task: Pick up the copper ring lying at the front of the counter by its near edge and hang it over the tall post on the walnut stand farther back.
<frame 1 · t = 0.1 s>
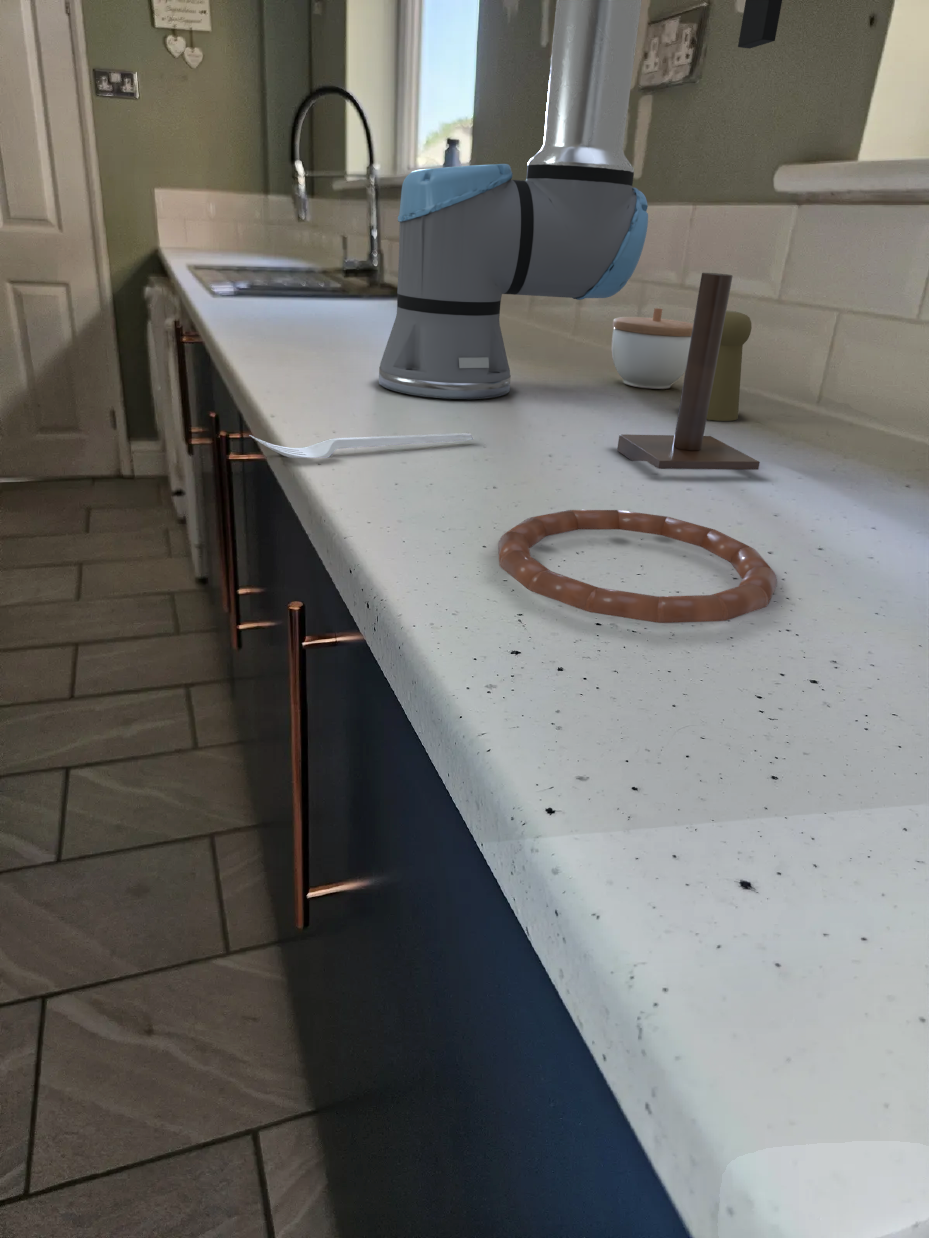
hand: (863, 58, 49), 28 cm above the counter, tool pointing down, fingers open, 13 cm apart
rail post: (683, 464, 76), on the counter
fork: (370, 454, 73), on the counter
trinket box: (646, 386, 113), on the counter
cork: (709, 416, 97), on the counter
ring: (633, 563, 50), point 1 cm above the counter
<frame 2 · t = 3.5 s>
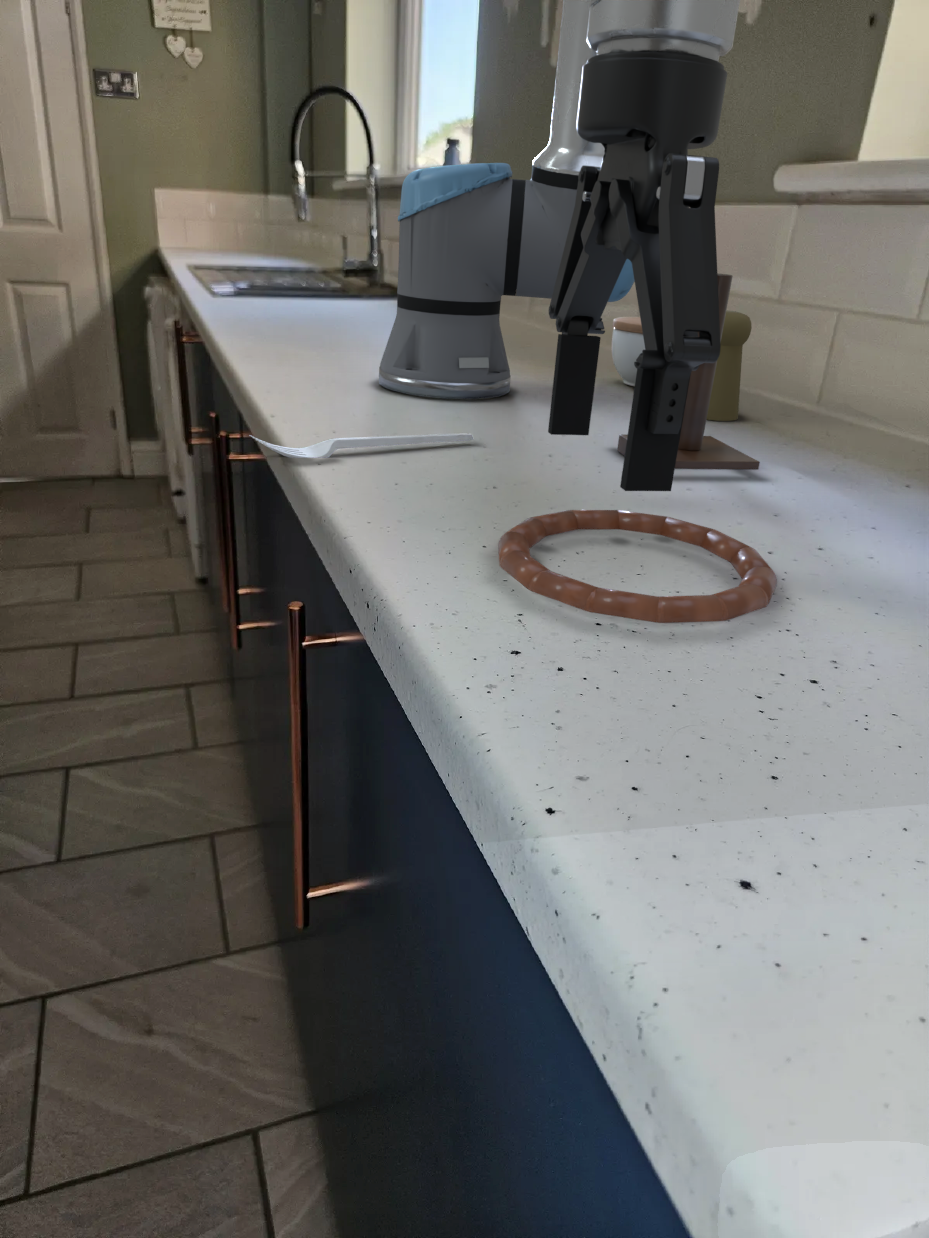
hand: (602, 459, 54), 5 cm above the counter, tool pointing down, fingers open, 13 cm apart
nothing on the counter moved.
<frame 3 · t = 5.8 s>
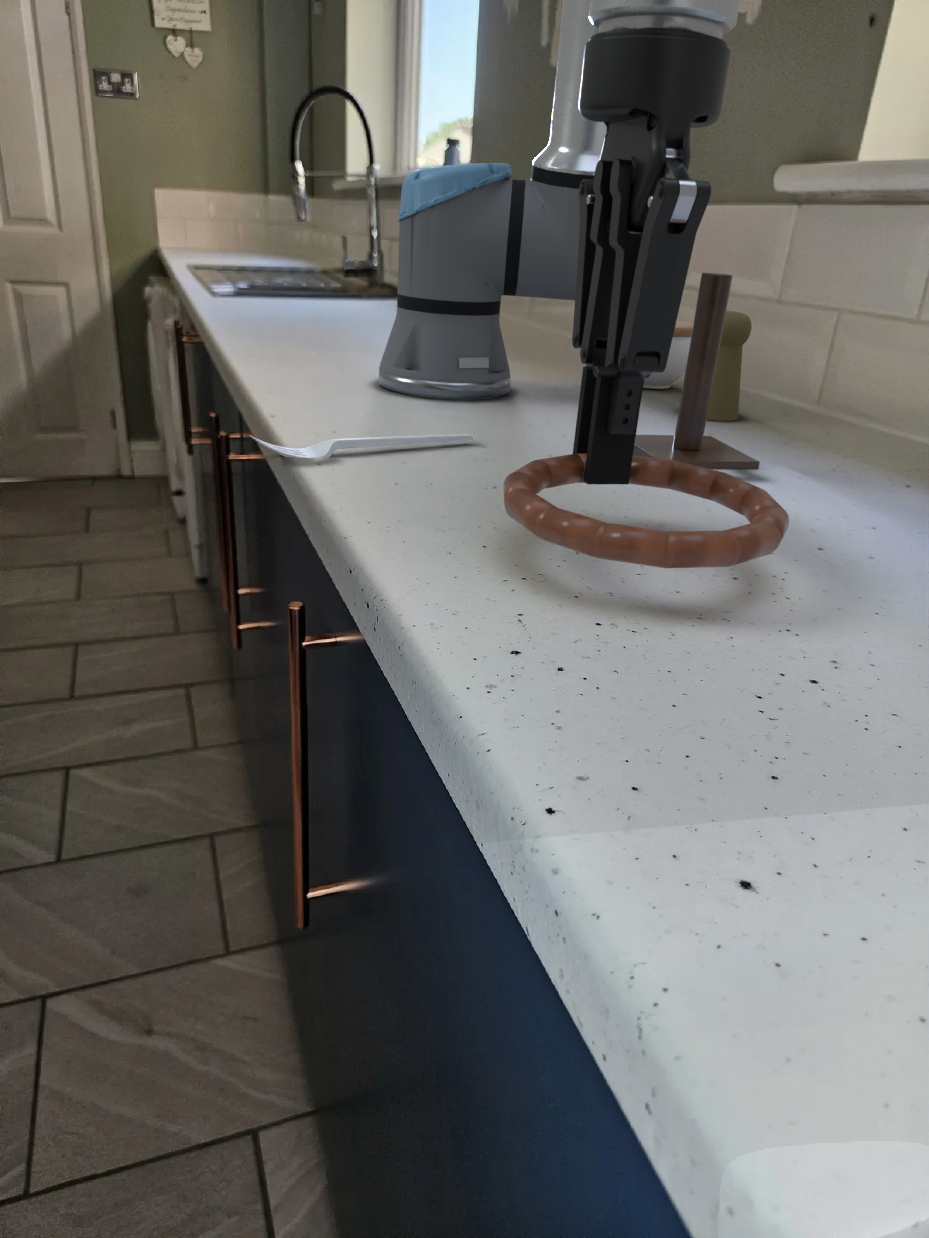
hand: (599, 476, 55), 4 cm above the counter, tool pointing down, fingers closed on ring, 2 cm apart
ring: (641, 503, 49), point 4 cm above the counter, touching gripper
everything else where it was.
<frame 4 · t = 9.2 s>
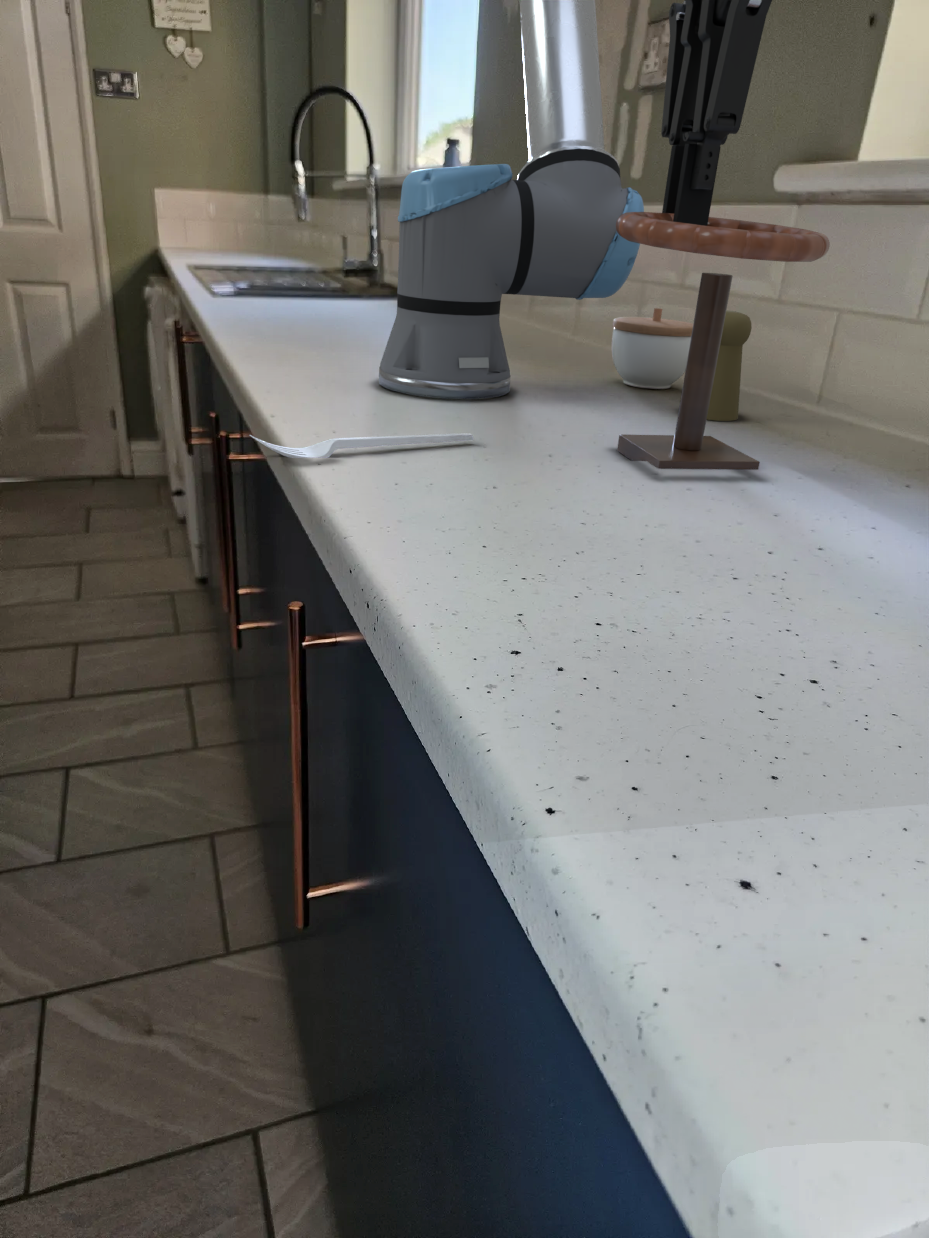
hand: (681, 234, 72), 18 cm above the counter, tool pointing down, fingers closed on ring, 2 cm apart
ring: (720, 235, 66), point 18 cm above the counter, touching gripper
everything else where it was.
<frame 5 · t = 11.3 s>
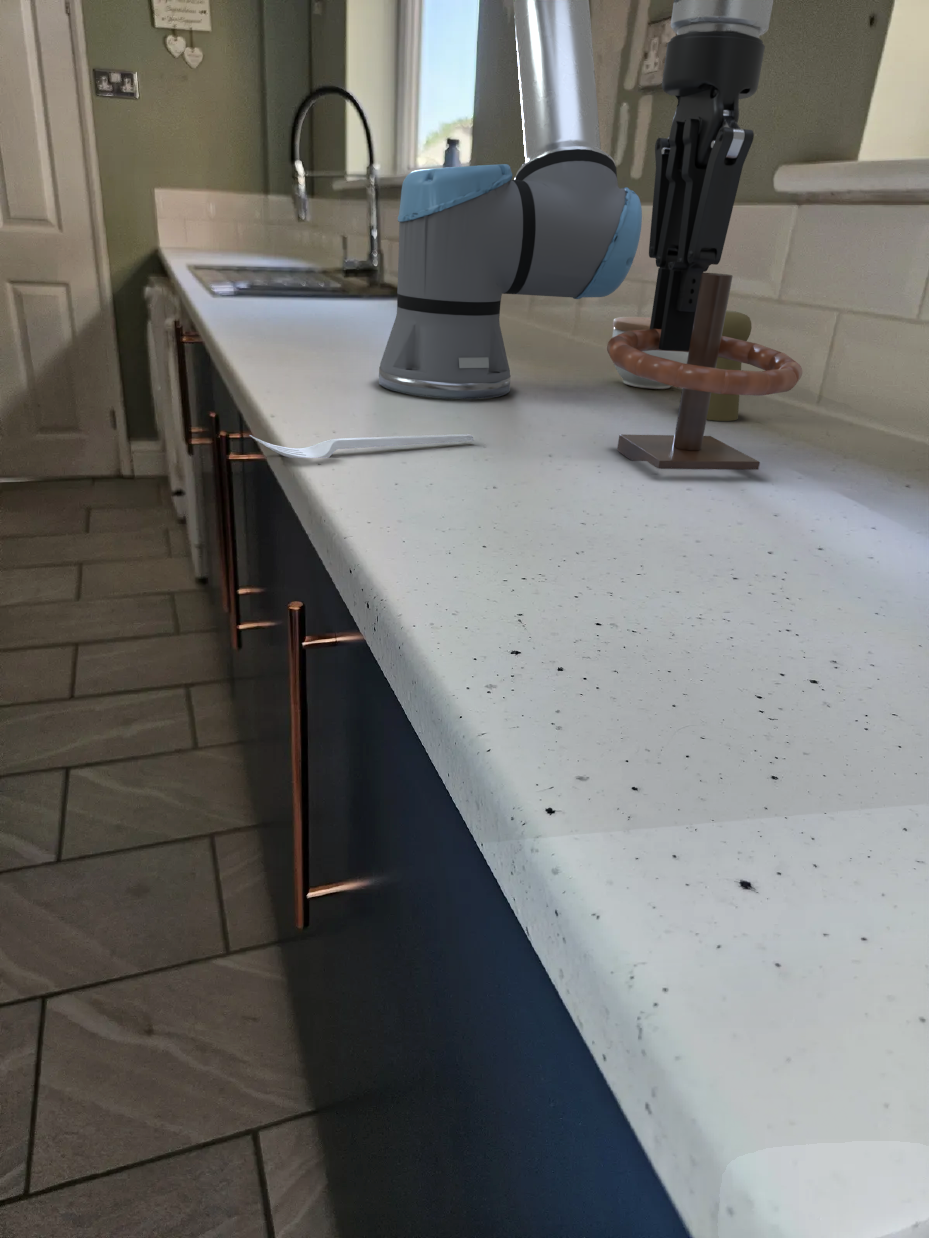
hand: (668, 347, 78), 9 cm above the counter, tool pointing down, fingers closed on ring, 2 cm apart
ring: (702, 360, 72), point 9 cm above the counter, tilted 5°, touching gripper
everything else where it was.
when the fingers open (3 cm above the counter, at t = 12.9 s): ring stays where it is, resting on rail post.
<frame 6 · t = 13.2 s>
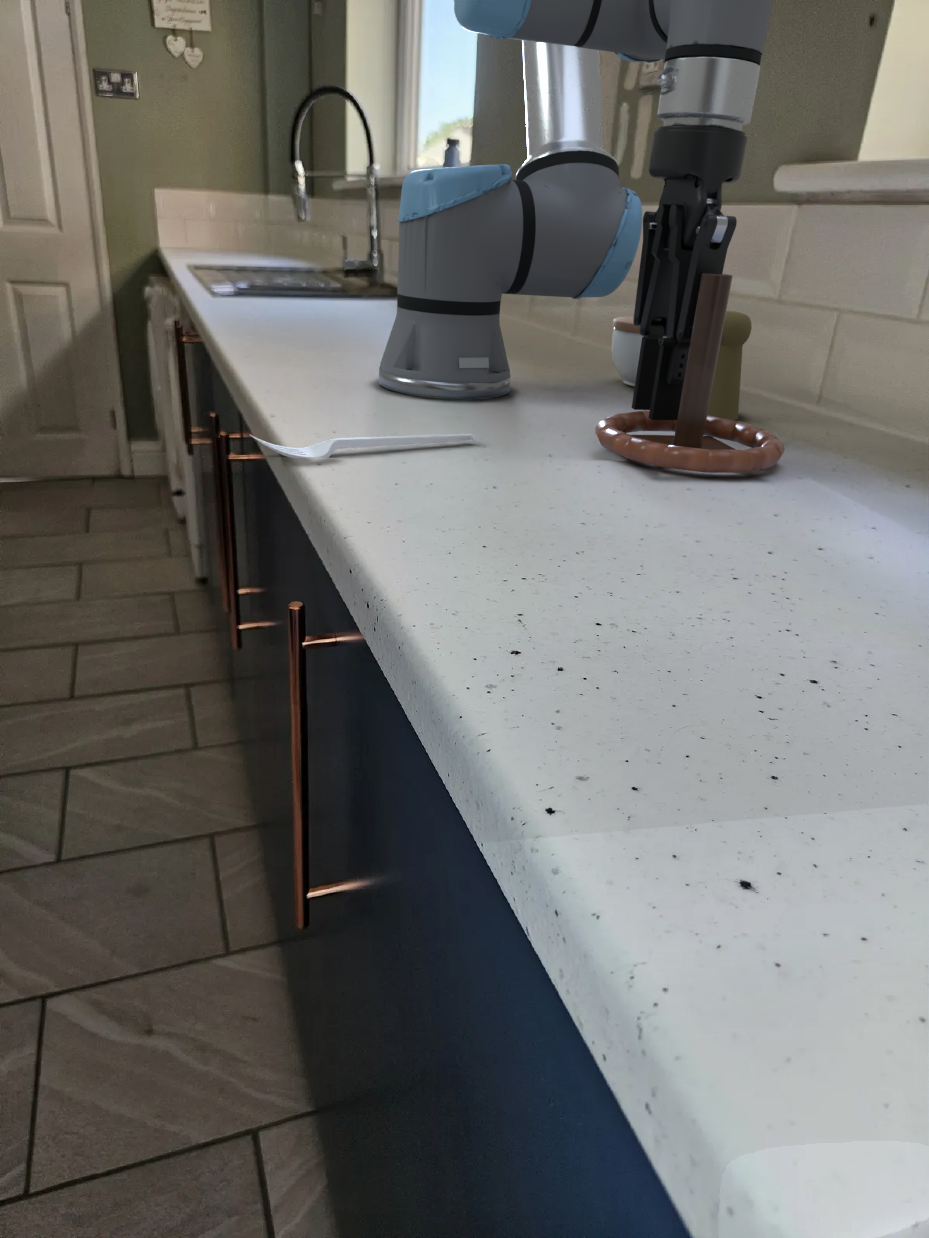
hand: (655, 413, 81), 3 cm above the counter, tool pointing down, fingers open, 3 cm apart
ring: (687, 439, 75), point 2 cm above the counter, touching rail post
everything else where it was.
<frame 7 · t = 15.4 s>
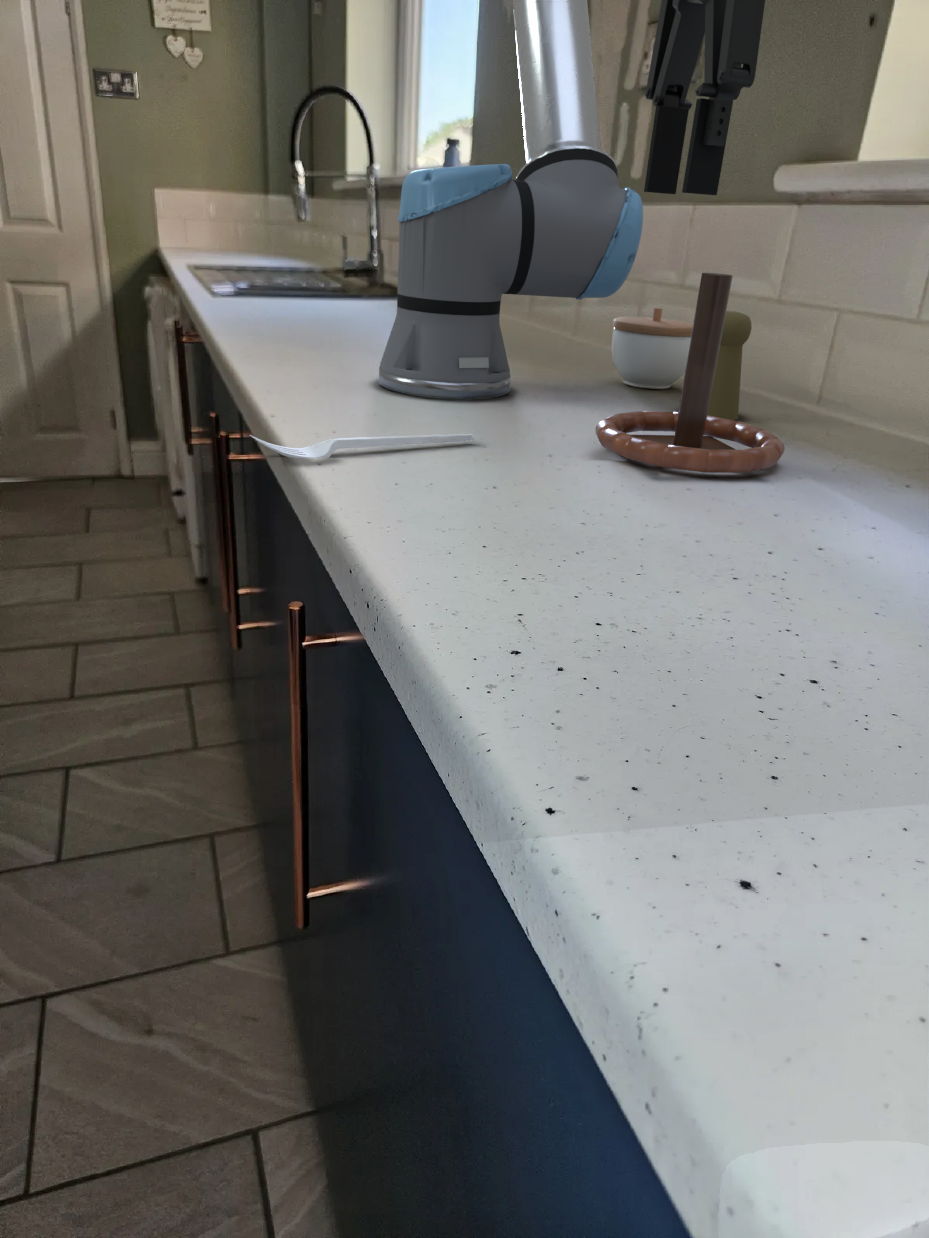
hand: (678, 193, 73), 21 cm above the counter, tool pointing down, fingers open, 7 cm apart
nothing on the counter moved.
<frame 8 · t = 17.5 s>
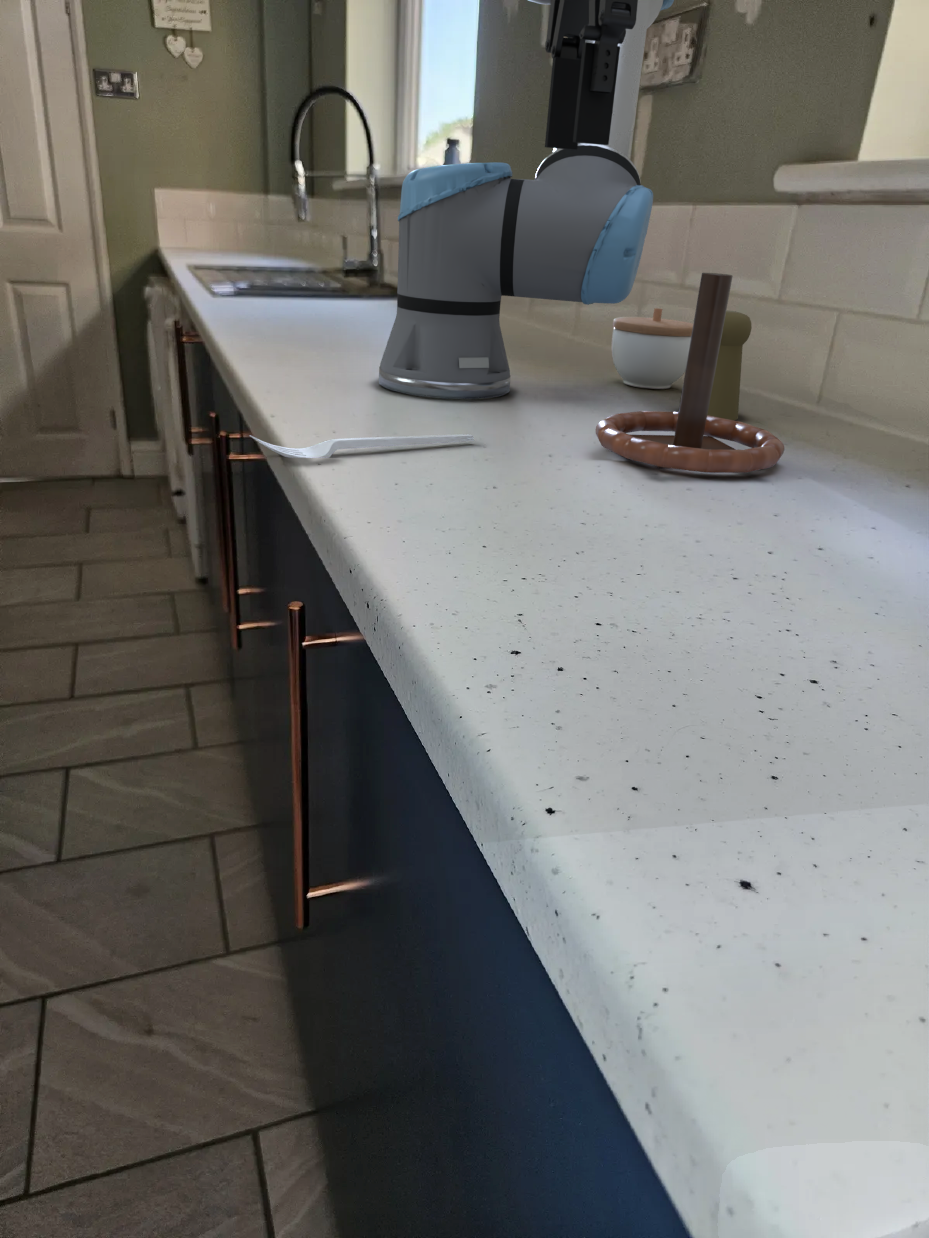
hand: (575, 145, 71), 24 cm above the counter, tool pointing down, fingers open, 7 cm apart
nothing on the counter moved.
at the end: ring inside the target area on the rail post (0.0 cm from its centre), point 2.2 cm above the rail post's base; the gripper is holding nothing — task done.
